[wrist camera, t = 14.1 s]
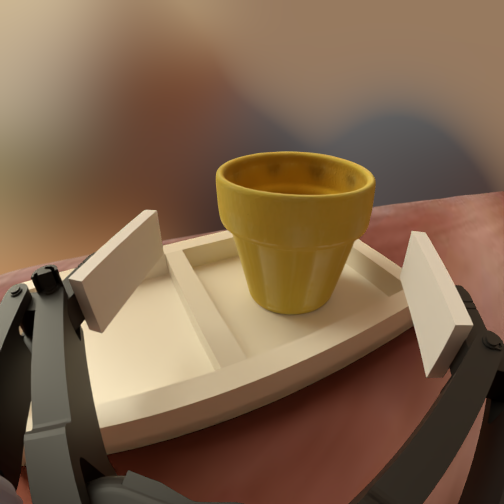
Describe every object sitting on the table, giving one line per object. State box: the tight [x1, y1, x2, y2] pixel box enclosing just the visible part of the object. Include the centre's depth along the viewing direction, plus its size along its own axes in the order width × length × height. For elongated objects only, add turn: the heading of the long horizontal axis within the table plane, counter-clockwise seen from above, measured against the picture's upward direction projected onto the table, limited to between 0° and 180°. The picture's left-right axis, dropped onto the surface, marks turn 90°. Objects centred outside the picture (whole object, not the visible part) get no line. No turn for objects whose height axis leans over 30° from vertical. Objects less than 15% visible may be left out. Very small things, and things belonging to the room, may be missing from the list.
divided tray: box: [14, 231, 414, 466], centre depth 21 cm, size 31×16×3 cm, turn 116°
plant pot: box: [216, 152, 375, 315], centre depth 22 cm, size 10×10×10 cm
